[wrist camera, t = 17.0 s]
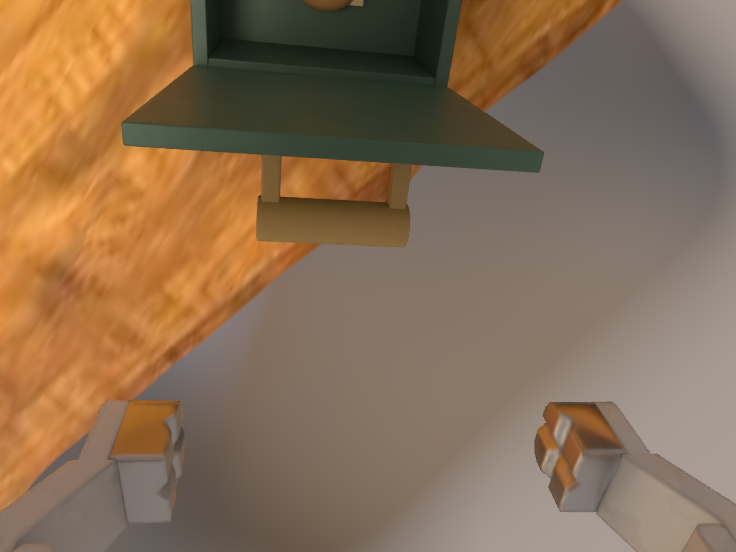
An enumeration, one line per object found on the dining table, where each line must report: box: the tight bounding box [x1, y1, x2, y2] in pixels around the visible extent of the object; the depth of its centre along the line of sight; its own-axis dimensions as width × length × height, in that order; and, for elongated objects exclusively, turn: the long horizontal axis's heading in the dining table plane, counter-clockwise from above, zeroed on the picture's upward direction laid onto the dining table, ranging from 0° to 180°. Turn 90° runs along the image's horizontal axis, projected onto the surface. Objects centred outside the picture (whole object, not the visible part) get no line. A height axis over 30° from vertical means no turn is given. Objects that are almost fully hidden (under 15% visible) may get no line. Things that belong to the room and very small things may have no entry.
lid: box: [121, 66, 544, 247], centre depth 27 cm, size 14×15×5 cm
